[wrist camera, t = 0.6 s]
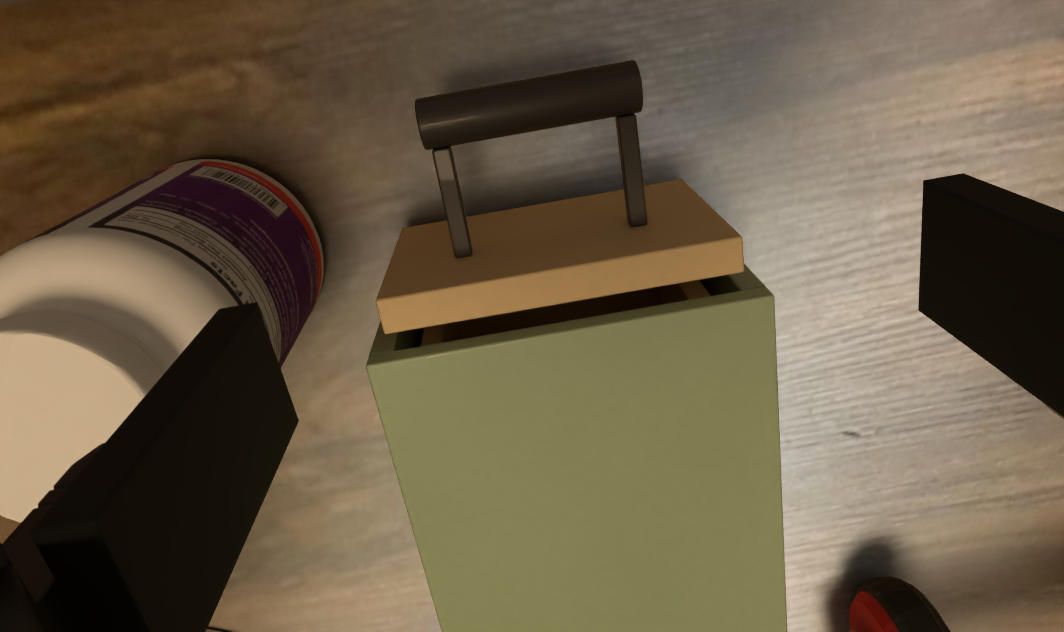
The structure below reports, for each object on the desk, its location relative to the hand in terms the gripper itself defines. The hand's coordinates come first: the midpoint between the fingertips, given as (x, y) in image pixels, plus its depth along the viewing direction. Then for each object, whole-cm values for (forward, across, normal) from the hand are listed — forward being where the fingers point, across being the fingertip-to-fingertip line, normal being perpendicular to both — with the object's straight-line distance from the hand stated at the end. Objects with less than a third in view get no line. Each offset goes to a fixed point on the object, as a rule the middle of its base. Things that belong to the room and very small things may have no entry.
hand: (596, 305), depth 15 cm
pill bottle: (+17, -13, -2) cm, 22 cm away
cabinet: (+16, 0, -11) cm, 20 cm away
